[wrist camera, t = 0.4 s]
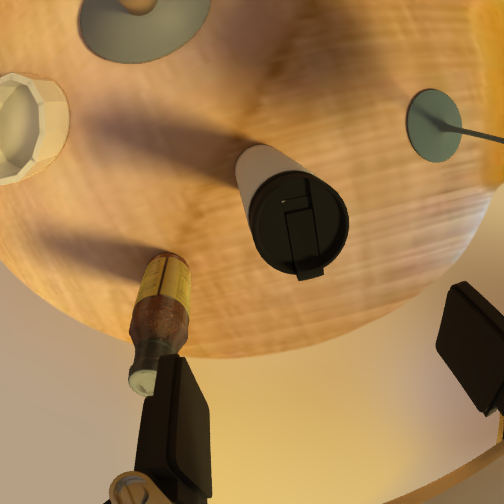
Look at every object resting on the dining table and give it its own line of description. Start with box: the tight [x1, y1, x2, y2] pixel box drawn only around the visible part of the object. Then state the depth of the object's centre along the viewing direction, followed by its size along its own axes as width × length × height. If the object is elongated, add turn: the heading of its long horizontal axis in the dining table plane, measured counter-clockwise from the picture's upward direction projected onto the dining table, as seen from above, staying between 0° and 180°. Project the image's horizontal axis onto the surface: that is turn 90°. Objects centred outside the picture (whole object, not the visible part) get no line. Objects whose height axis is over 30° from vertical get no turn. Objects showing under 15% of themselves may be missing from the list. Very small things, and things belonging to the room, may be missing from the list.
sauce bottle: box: [128, 253, 191, 397], centre depth 32 cm, size 6×6×20 cm
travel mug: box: [235, 145, 349, 281], centre depth 27 cm, size 6×7×20 cm
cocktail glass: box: [407, 90, 504, 162], centre depth 24 cm, size 18×18×25 cm
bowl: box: [0, 72, 70, 185], centre depth 26 cm, size 13×13×6 cm
